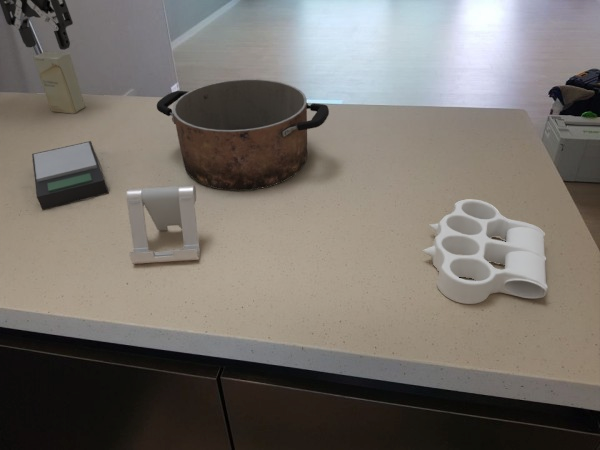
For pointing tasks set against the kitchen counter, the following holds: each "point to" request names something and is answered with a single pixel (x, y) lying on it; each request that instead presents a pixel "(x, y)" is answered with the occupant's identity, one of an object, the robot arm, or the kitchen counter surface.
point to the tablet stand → (163, 221)
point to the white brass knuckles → (487, 254)
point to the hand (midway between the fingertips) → (48, 47)
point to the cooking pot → (242, 131)
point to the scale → (67, 175)
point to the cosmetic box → (59, 81)
